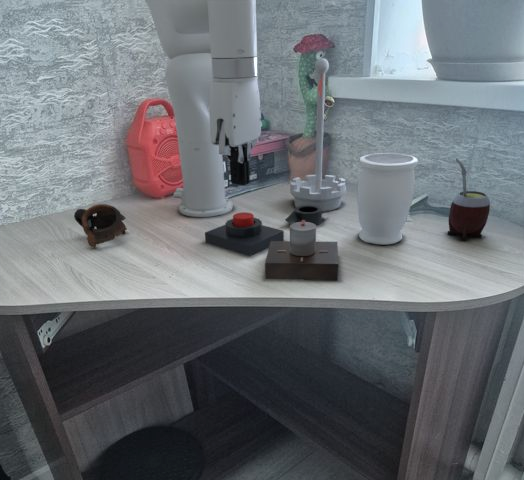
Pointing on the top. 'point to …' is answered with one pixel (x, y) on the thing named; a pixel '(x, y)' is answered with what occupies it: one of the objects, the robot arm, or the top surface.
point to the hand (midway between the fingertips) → (240, 183)
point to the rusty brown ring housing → (100, 223)
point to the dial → (302, 238)
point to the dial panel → (302, 262)
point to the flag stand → (319, 162)
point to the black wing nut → (306, 214)
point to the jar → (385, 196)
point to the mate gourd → (468, 211)
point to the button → (243, 219)
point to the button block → (244, 237)
